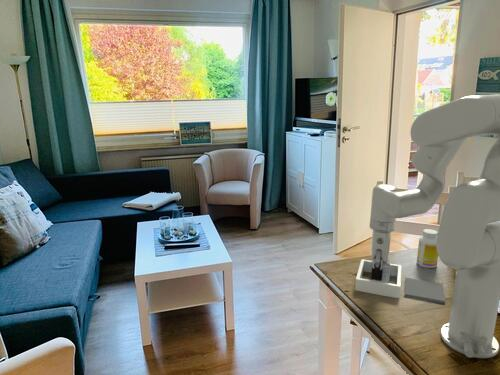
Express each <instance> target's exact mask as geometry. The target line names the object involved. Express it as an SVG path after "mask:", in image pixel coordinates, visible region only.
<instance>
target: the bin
mask: <svg viewBox="0 0 500 375" xmlns="http://www.w3.org/2000/svg"><path fill="white" fill-rule="evenodd" d="M371 271H372V260H368V259H361V260H360V263H359V267H358V270H357V273H356V277H355V288H354V291H355V292H356V291H357V292H363V293H367V294H373V295H378V296H383V297H390V298H395V299H400V296H401V282H402V265H401V264H395V263H390V275H389V277H396V284H395V283H390V282H389V283H385V282H379V281H374V280H372V279H367V278H363V275H364V272H366V273H371Z"/></svg>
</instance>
